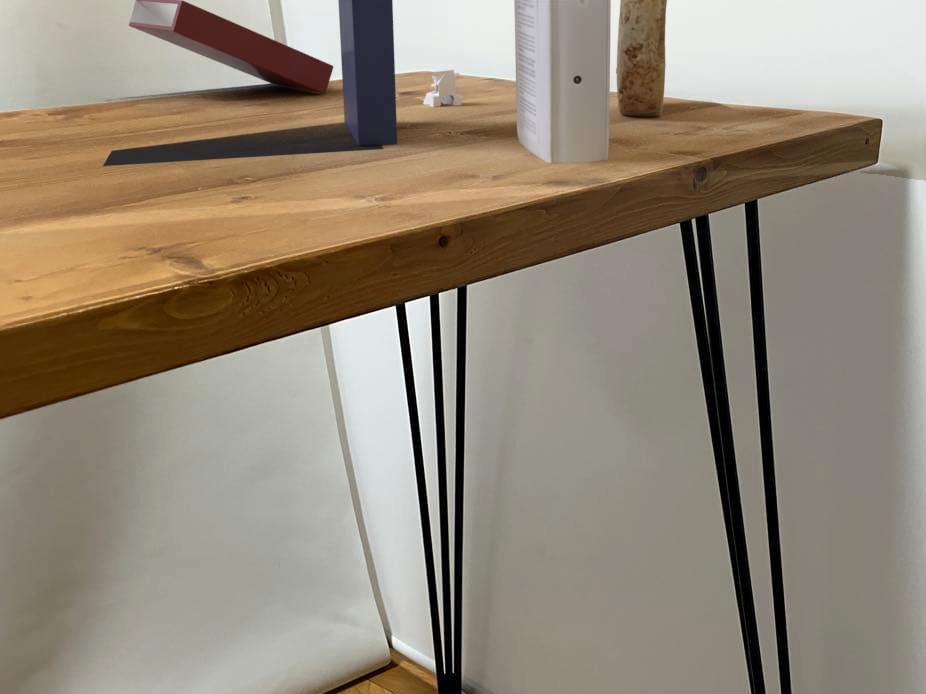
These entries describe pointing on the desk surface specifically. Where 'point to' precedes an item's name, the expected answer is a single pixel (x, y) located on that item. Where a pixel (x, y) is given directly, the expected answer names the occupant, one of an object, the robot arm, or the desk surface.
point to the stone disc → (641, 57)
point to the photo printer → (563, 78)
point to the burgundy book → (230, 44)
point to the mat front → (243, 146)
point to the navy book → (368, 70)
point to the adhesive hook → (444, 90)
